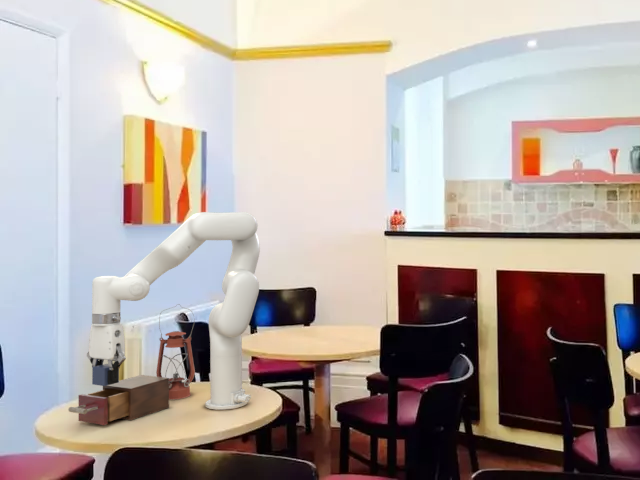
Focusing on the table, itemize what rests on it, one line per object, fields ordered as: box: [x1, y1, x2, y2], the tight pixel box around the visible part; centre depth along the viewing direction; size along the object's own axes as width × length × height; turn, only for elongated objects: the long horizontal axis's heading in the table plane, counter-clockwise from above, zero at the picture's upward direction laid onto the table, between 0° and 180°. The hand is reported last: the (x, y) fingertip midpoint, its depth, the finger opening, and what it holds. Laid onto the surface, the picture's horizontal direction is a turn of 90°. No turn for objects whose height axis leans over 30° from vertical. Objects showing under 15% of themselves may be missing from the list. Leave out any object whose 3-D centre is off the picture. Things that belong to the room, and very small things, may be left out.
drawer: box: [67, 388, 129, 426], centre depth 196 cm, size 18×10×7 cm, turn 154°
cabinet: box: [102, 374, 170, 421], centre depth 207 cm, size 15×12×9 cm
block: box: [91, 363, 120, 387], centre depth 197 cm, size 5×5×5 cm
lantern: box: [155, 303, 196, 401], centre depth 226 cm, size 10×10×30 cm
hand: (105, 381), depth 197 cm, fingers closed on block, 5 cm apart
